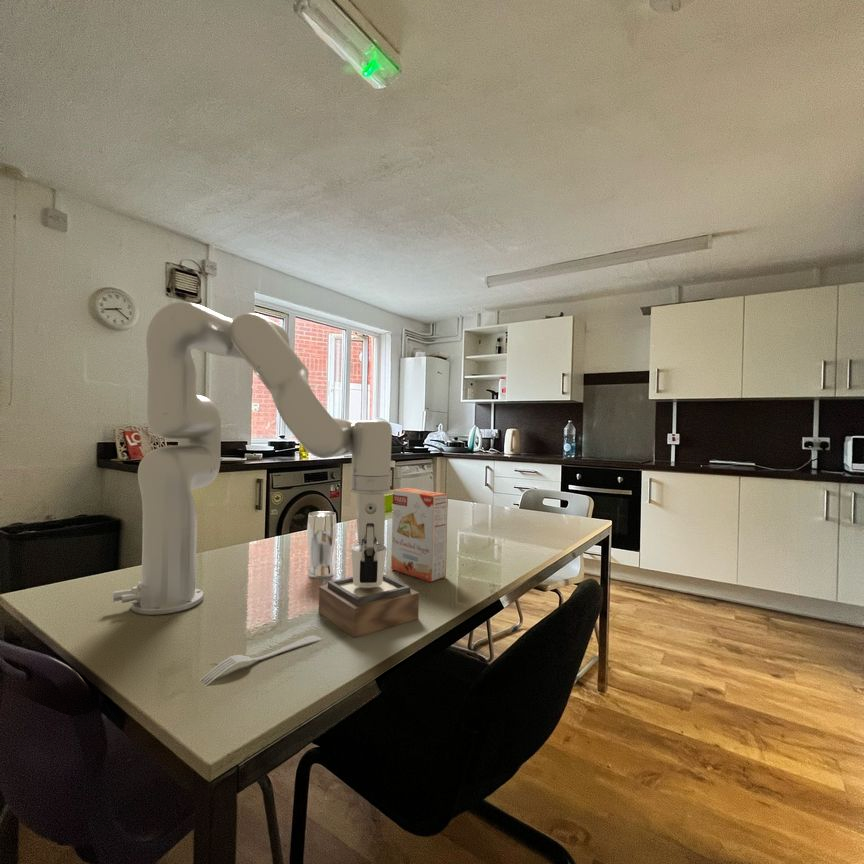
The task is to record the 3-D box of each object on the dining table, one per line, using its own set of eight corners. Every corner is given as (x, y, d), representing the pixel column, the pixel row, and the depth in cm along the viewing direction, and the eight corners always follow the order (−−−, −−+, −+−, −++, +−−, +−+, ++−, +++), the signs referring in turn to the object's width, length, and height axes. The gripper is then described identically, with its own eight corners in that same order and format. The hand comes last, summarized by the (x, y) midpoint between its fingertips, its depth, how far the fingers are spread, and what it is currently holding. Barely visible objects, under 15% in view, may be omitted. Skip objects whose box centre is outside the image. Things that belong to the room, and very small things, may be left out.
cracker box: (389, 570, 119) (391, 488, 119) (406, 565, 124) (408, 486, 124) (430, 583, 110) (432, 495, 110) (446, 577, 115) (449, 492, 114)
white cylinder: (342, 581, 91) (343, 546, 91) (371, 575, 95) (372, 540, 95) (363, 591, 86) (365, 553, 86) (392, 583, 90) (393, 547, 90)
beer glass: (299, 575, 113) (301, 514, 113) (319, 568, 119) (320, 510, 119) (322, 580, 110) (323, 517, 110) (341, 573, 116) (342, 512, 116)
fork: (324, 655, 80) (326, 638, 80) (201, 692, 64) (204, 671, 64) (314, 649, 82) (316, 633, 82) (192, 684, 66) (195, 664, 66)
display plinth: (354, 637, 81) (354, 603, 81) (318, 611, 92) (319, 581, 92) (418, 618, 90) (419, 587, 90) (379, 596, 100) (379, 569, 100)
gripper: (393, 490, 82) (390, 591, 83) (387, 479, 100) (384, 562, 100) (350, 489, 81) (347, 592, 81) (351, 478, 98) (349, 563, 99)
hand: (367, 575), depth 91 cm, fingers closed on white cylinder, 6 cm apart
